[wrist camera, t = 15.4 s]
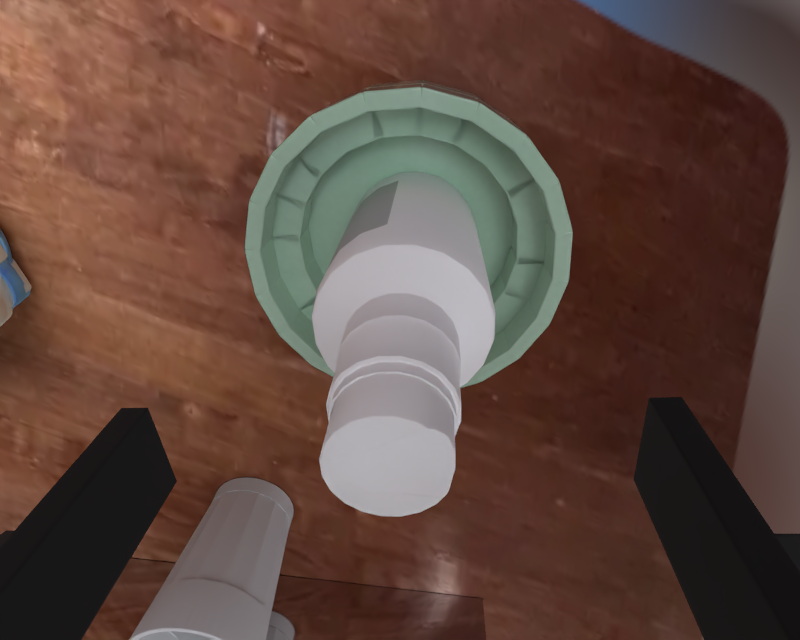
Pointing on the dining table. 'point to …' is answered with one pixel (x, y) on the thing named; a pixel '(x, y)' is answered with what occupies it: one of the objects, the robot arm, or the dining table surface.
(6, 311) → the basket
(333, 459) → the white bottle
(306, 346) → the bowl
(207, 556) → the cup
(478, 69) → the dining table surface
